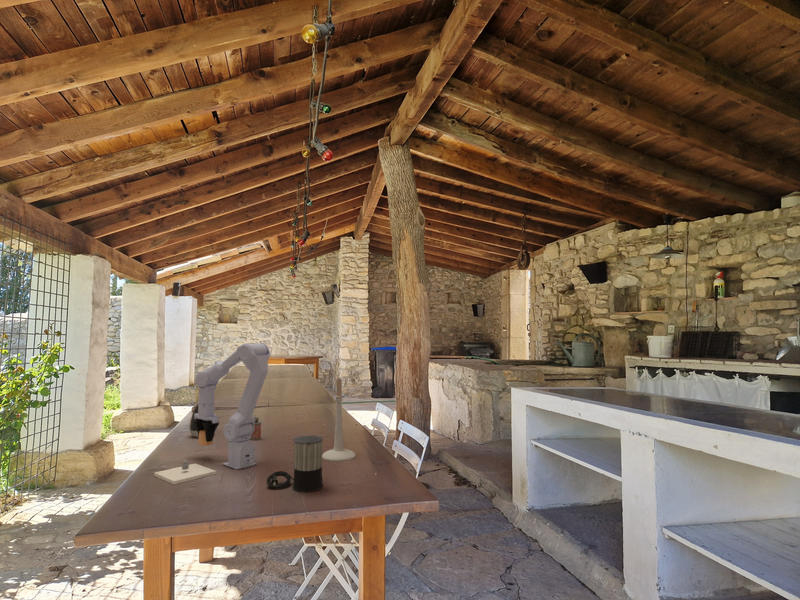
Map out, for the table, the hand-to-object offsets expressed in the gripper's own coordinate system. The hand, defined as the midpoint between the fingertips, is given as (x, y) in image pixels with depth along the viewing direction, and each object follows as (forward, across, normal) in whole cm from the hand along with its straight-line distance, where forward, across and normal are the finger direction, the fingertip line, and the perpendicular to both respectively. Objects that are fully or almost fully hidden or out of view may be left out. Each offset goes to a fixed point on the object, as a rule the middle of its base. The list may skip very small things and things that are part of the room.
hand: (205, 440), depth 178 cm
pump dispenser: (+7, +37, -18) cm, 42 cm away
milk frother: (+7, -51, -2) cm, 51 cm away
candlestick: (+7, -36, -34) cm, 50 cm away
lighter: (+7, +14, -29) cm, 33 cm away
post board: (+7, -13, +14) cm, 20 cm away
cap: (+1, 0, 0) cm, 1 cm away
